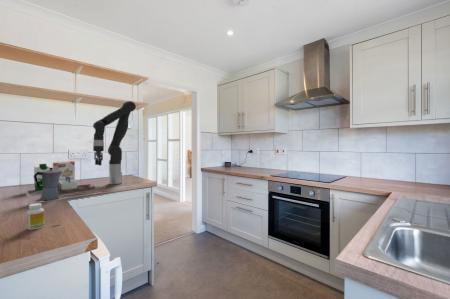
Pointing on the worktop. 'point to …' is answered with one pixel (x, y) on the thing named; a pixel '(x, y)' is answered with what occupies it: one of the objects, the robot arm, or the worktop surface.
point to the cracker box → (65, 169)
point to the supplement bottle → (35, 216)
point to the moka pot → (49, 184)
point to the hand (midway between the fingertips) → (98, 165)
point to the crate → (67, 184)
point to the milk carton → (39, 177)
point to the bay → (79, 188)
